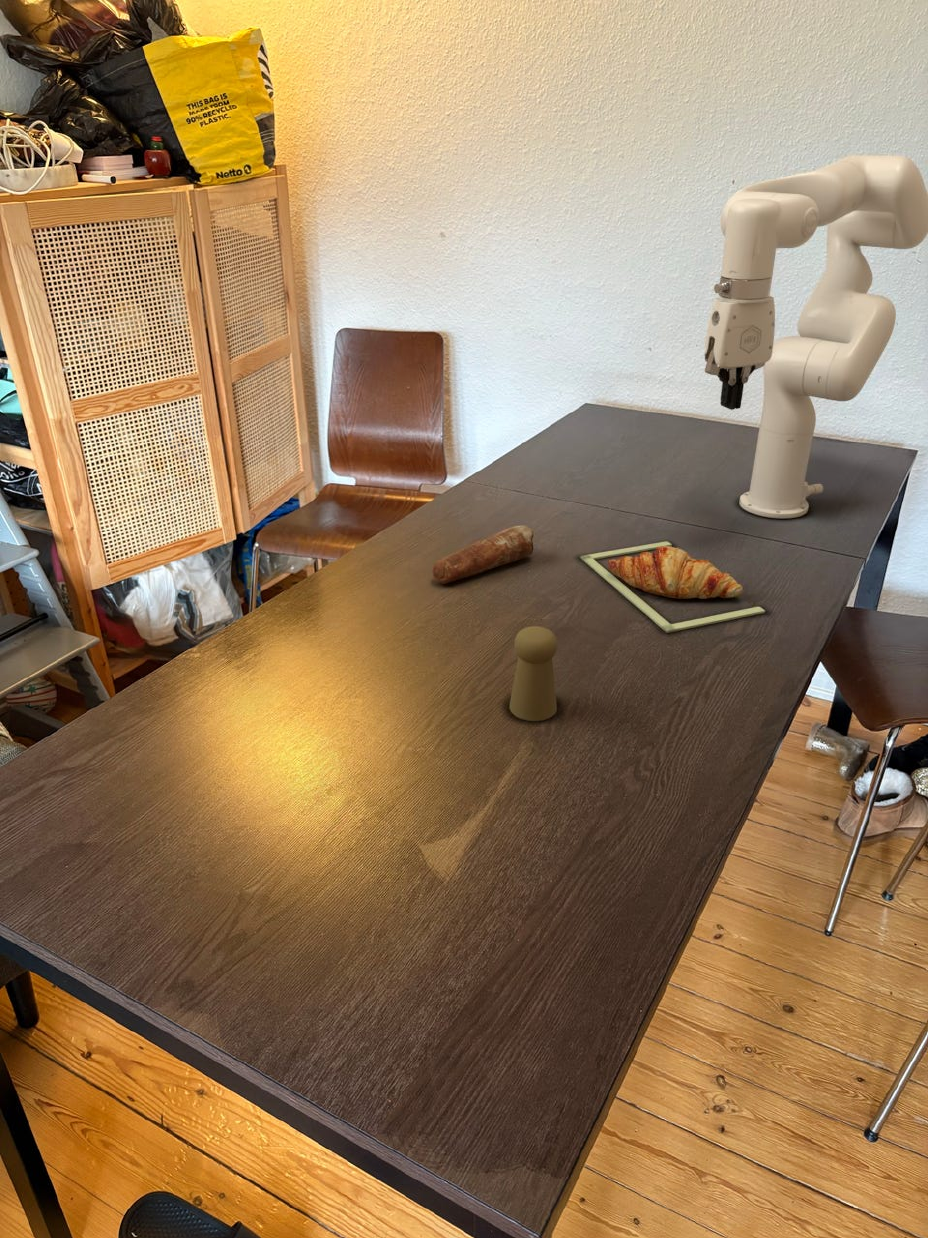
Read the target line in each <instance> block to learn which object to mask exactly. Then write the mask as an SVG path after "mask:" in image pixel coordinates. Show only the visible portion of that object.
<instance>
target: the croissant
mask: <svg viewBox="0 0 928 1238" xmlns="http://www.w3.org/2000/svg"><path fill="white" fill-rule="evenodd" d="M607 565H608V569H609V571H610V572H611V573H612V574H614V575H616V576H617V577H619V578H620V579H622V580H623V581H624V583H626V584H627V585H628V586H630V587H632V588H634V589H639V590H641V591H643V592H646V593H649V594H652V595H655V596H663V597H667V598H671V599H676V600H677V599H680V600H681V599H683V600H685V599H696V598H698V599H700V600H706V599H709V598H710V599H714V598H716V597H718V598H722V599H729V598H736V597H738V596H740V595H741V594H742V592H743V586H742V584H739V583H738V582H737V580H735V578H734V577H733V576H731V574H729V573H727V572H721V571H720V569H718V568H717V567H715V564H713V563H712V562H711V561H710V559H696V558H692V557H691V556H690V554H689V553H688V552H687V551H685V550H683V549H681V548H678V547H674V546H671V547H669V546H660V547H658V548H657V549H654V550H653V552H648V551H642V552H640V553H639V554H638V555H637V556H635V557H632V556H630V555H629V556H628V555H625V556H621V557H619V558H618V559H616V558H610V559H609V560H608V563H607Z"/></svg>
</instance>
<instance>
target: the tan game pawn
mask: <svg viewBox="0 0 928 1238" xmlns="http://www.w3.org/2000/svg"><path fill="white" fill-rule="evenodd" d="M557 650H558V640H557V637H556V635H555V634H554V632H553V631H552V630H551V629H549V628H547V627H543V626H538V625H532V626H528V627H524V628H522V629H521V630H519V631H518V632H517V634H516V636H515V637H514V651H515V653H516V655H517V656H518V657H517V663H516V666H515V667H516V668H515V672H514V679H513V685H512V689H511V694H510V700H509V707H508V708H509V710H510V713H511V714H513V716H515V717H516V718H518V719H520V720H523V721H528V722H539V721H545V720H548V719H550V718H552V717H553V716H555V714H556V713H557V711H558V706H557V705H558V704H557V695H556V684H555V675H554V665H553V664H554V663H553V657H555V655H556V653H557Z"/></svg>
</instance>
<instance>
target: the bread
mask: <svg viewBox="0 0 928 1238" xmlns="http://www.w3.org/2000/svg"><path fill="white" fill-rule="evenodd" d="M533 538H534V530H533V529H532V528H530V527H528V526H527V525H524V524H518V525H516V526H511V527H509V528H506V529H504V530H501V531H499V532H497V533H494V534H492V535H490V536H488V537H486V538H484V539H481V540H478V541H476V542H474V543H473V544H470V545H469V546H465V547H464V548H462V549H459V550H457V551H455V552H453V553H452V554H449V555H447V556H445V557H443V558H442V559H439V560H438V561H435V562H434V564H433V566H432V570H431V571H432V577H433V579H434V580H435V581H436V583H438V584H442V585H447V584H450V583H453V582H456V581H459V580H462V579H466V578H468V577H469V578H470V577H472V576H475V575H478V574H481V573H483V572H487V571H489V570H492V569H495V568H498V567H501V566H503V565H507V564H510V563H513V562H517V561H519V560H522V559H524V558H527V557H528V556H531V555H532V554H533V552H534V542H533Z"/></svg>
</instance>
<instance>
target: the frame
mask: <svg viewBox="0 0 928 1238" xmlns="http://www.w3.org/2000/svg"><path fill="white" fill-rule="evenodd" d="M660 546H669V547H673V546H672V543H670V542H669V541H668V540H667V541H666V540H665V541H661V542H654V543H649V544H641V545H637V546H632V547H631V546H630V547H625V548H620V549H613V550H608V551H602V552H597V553H590V554H583V555H580V556H579V557H580V558H579V559H581V560H582V561H583V562H584V563H585V564H586V565H587V566H589V567H590V568H591V569H592V570H593V571H595V572H596V573H597V574H598V575H599V576H601V577H602V578H603V579H604V580H605V581H606V582H607V583H608V584H610V585H611V586H612V587H613V588H614V589H615V590H617V591H618V592H619V593H620V594H621V595H622V596H623V597H625V598H626V599H627V600H628V601H629V602H631V603H632V604H633V605H634V606H635V607H636V608H638V609H639V610H640V611H641V612H642V613H643V614H645V616H646V617H648V618H649V619H650V620H651V621H653V622H654V623H655V624H656V625H657V626H658V627H659V628H661V629H662V630H663V631H664V632H665V633H666V634H668V633H674V632H679V631H683V630H689V629H694V628H698V627H703V626H707V625H713V624H717V623H718V624H719V623H722V622H723V623H724V622H728V621H733V620H736V619H741V618H746V617H751V616H757V615H762V614H766V610H765V609H763V608H762V607H761V606H753V607H750V608H749V607H748V608H744V609H739V610H735V611H729V612H725V613H719V614H715V615H710V616H705V617H700V618H696V619H695V618H694V619H691V620H685V621H680V622H675V623H670V622H668V620H666V619H665V618H664V617H663V616H661V614H659V613H658V612H657V611H656V610H655V609H653V608H652V607H651V606H650V605H649V604H647V602H645V601H644V600H643V599H642V598H640V597H639V596H638V595H637V594H635V592H633V591H632V590H631V589H629V587H627V586H626V585H625V584H624V583H623V582H621V581H620V580H619V579H618V578H616V577H615V575H613V573H611V572H609V571H608V570H607V569H606V568H605V567H603V566H602V565H601V564H600V563H599V562H598V561H596V560H600V559H606V558H613V557H618V556H624V555H625V556H626V555H630V554H635V553H636V554H637V553H642V552H648V551H654V550H656V549H657V548H658V547H660Z"/></svg>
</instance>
